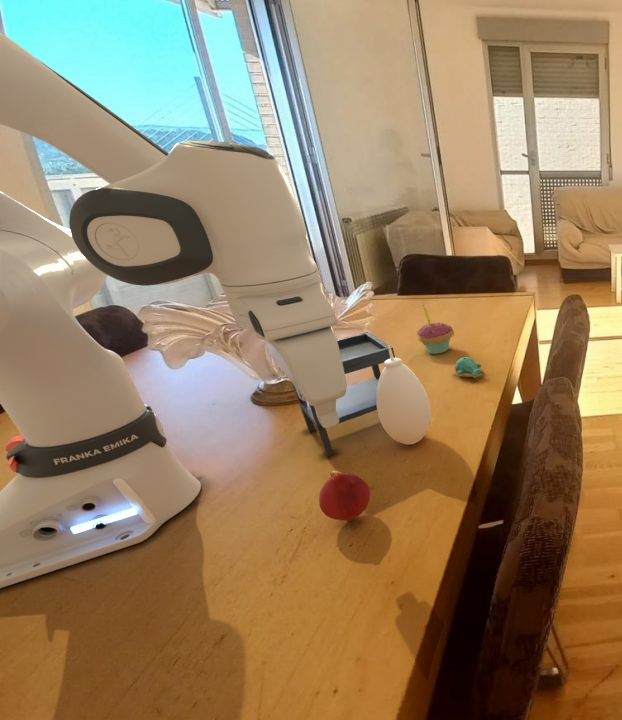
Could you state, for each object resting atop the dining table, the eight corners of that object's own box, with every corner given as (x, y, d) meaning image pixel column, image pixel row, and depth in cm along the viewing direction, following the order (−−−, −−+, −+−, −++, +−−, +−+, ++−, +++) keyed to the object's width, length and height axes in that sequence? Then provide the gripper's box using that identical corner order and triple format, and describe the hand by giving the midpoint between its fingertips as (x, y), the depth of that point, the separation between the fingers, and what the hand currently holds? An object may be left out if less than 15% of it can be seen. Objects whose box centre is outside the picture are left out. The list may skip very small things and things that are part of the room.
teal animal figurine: (473, 366, 110) (470, 351, 109) (491, 375, 106) (488, 359, 104) (450, 375, 106) (447, 359, 105) (468, 384, 102) (465, 368, 100)
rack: (327, 456, 78) (299, 373, 72) (308, 430, 86) (281, 353, 80) (411, 423, 87) (392, 347, 81) (386, 402, 95) (368, 331, 89)
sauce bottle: (416, 425, 87) (395, 333, 79) (445, 436, 83) (425, 340, 76) (378, 446, 80) (350, 349, 73) (407, 459, 77) (381, 358, 70)
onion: (364, 498, 68) (349, 452, 65) (383, 515, 65) (369, 467, 62) (320, 521, 64) (303, 473, 61) (338, 541, 61) (321, 491, 57)
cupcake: (413, 355, 118) (403, 308, 113) (435, 342, 125) (426, 299, 120) (443, 358, 115) (433, 311, 111) (463, 345, 123) (455, 300, 118)
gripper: (231, 292, 57) (270, 393, 63) (265, 329, 43) (311, 454, 49) (291, 281, 61) (323, 377, 67) (339, 312, 47) (374, 429, 53)
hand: (318, 410), depth 58 cm, fingers open, 8 cm apart
